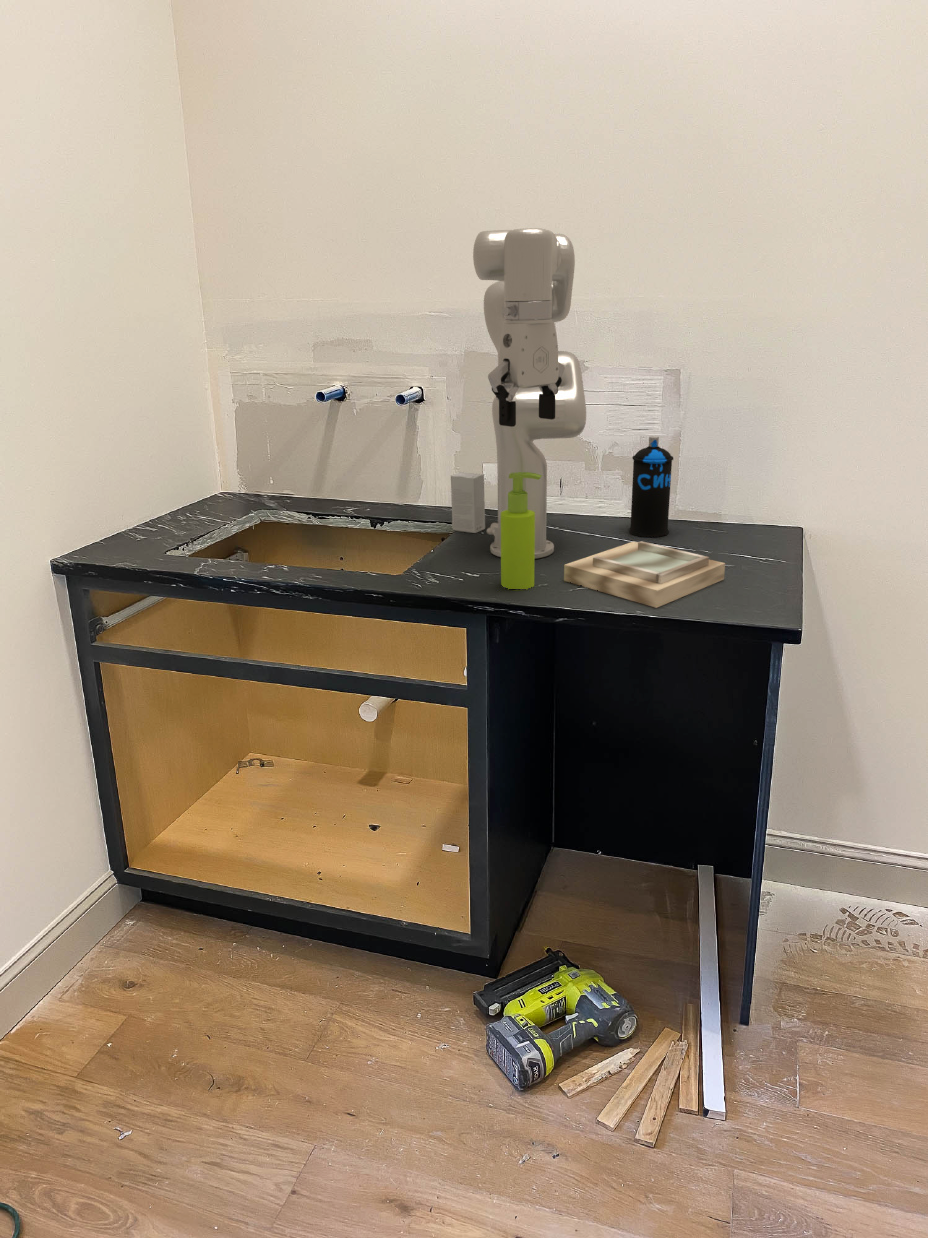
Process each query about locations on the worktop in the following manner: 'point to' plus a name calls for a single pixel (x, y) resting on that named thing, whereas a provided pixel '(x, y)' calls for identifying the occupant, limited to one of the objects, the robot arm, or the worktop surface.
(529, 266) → the robot arm
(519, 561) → the soap dispenser
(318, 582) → the worktop surface
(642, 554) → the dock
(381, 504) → the worktop surface
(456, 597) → the worktop surface
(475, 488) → the skincare box
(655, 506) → the aerosol can
